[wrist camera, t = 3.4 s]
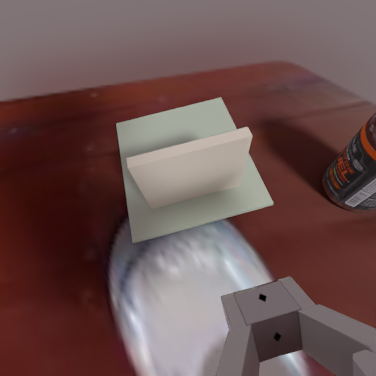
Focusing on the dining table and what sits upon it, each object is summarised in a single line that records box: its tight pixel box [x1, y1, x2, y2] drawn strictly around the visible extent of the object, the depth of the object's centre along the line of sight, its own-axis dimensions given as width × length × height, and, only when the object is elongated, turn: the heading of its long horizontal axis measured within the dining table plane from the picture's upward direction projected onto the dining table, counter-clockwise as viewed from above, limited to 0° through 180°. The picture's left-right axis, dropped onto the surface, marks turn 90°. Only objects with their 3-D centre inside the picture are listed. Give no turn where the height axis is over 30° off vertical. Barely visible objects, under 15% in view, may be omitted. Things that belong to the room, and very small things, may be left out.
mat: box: [116, 98, 273, 244], centre depth 27 cm, size 15×17×1 cm
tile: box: [126, 127, 252, 209], centre depth 21 cm, size 10×1×8 cm, turn 104°
